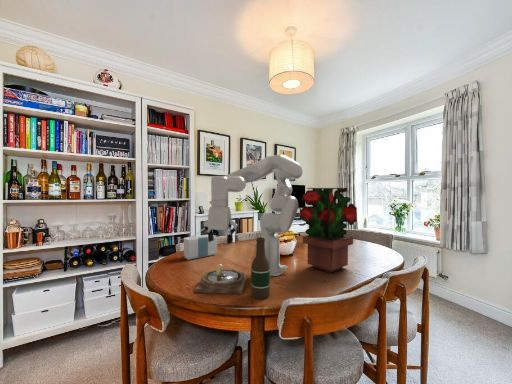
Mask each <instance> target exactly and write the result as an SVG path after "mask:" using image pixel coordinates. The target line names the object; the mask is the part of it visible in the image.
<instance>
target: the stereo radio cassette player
mask: <svg viewBox="0 0 512 384" xmlns="http://www.w3.org/2000/svg"><path fill="white" fill-rule="evenodd" d="M203 230H206V229H205V227H204V228H202V229H200V230H199V231H198V232H196V233H195V234H194V235H192V236H187V237H183V257H184V258H185V259H186V260H188V261H190V260H193V259H194V260H195V259H200V258H203V257H205V258H206V257H210V256H215V255H216V254H217V252H218V251H217V250H218V238H217V237H218V236H217V235H214V240H213V241H211V242H209V241H208V234H202V235H198V234H199V233H201V232H202V231H203Z"/></svg>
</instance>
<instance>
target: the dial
mask: <svg viewBox="0 0 512 384" xmlns="http://www.w3.org/2000/svg"><path fill="white" fill-rule="evenodd" d="M222 269H223V264H222V263H217V264H216V270H217V272H214V273H211V274H209V275H208V281H210V282H216V283H229V282H232V281H235V280H238V274H237V273H235V272H232V271H222Z"/></svg>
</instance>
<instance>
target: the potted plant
mask: <svg viewBox="0 0 512 384" xmlns="http://www.w3.org/2000/svg"><path fill="white" fill-rule="evenodd" d="M306 189H308V190H306V191H305V193H303V194H301V195H302V196H301V200H302V202H304V203H305V204H306V205H307V206H305V205H304V206H302V208H301V207H299V220H302V221H303V222H304V223H305V224H306V225H308V229H305V234H307V235H302V244H306V245H307V265H311V266H312V269H317V270H320V271H322V272H326V273H329V274H331V273H335V272H337V271H340V270H341V269H343V268H344V267H346V266H348V265H349V246H352V245H354V237H353V236H349V235H347V234H348V233H347V230H346V228H347V227H348V226H347V224H348V225H349V226H353V225H354V224H355V223H357V221H358V216H357V215H358V212H357V211H358V209H357V208H358V207H357V206H355V205H354V203H349V202H351V197H350V196H345V195H343V194H342V193H347V190H348V187H306ZM348 203H349V204H348Z"/></svg>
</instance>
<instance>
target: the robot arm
mask: <svg viewBox="0 0 512 384" xmlns="http://www.w3.org/2000/svg"><path fill="white" fill-rule="evenodd" d="M273 173H274V176H275V178H276V181H277V188H276V190H275V193H274V194H273V197H272V199H271V201H270V204H269V207H270V210H271V211H272V212H265V213H263V214H262V215H261V216H260V219H259V226H260V232H261V237H262V238H265V241H264V242H265V255H266V258H267V260H268V262H269V264H270V277H278V276H280V275H282V274H283V271H284V270H285V271H289V266H287V265H282V264H281V262H280V255H281V254H280V253H281V251H280V250H281V249H280V241H281V239H280V236H279V234H286V233H287V232H289V231H290V229H291V227H292V224H293V223H294V220H295V219H296V215H297V212H298V210H299V202H298V199H297V198H296V197H295V196H292V192H293V186H292V184H291V181H290V180H297V179H300V178H301V177H302V175H303V167H302V165H301V164H300V163H299V162H297V161H295V160H294V159H292V158H290V157H288V156H286V155H284V154H275V155H270V156H266V157H264V158H262V159H260V160H259V161H257V162H254V163H253V164H250V165H248V166H244V167H243V168H241V169H238V170H236V171H233V172H230V173H229V174H226V175H215V176H214V175H213V176H212V177H211V180H210V183H211V184H210V187H211V189H210V193H211V195H210V197H211V199H210V201H209V202H208V203H209V204H210V206H209V209H208V216H207V220H206V221H204V222H203V227H204V228H205V229H204V230H205V231H206V233H207V235H208V241H209V242H211V241H213V240H214V231H215V230H216V231H226V233H227V235H226V243H227V244H228V245H229V244H232V243H233V237H234V236H233V234H234V233H235V232H236V231H237V228H238V227H239V224H238V223H236V222H235V221H233V220H232V212H231V208H230V206H229V193H241V192H242V191H244V190H245V188H246V186H247V183H254V182H258V181H259V180H262V179H263V178H265V177H267V176H269V175H270V174H273Z"/></svg>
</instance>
